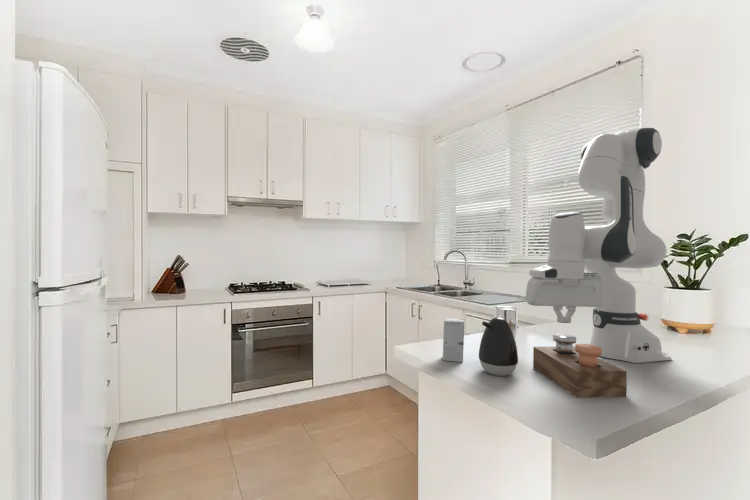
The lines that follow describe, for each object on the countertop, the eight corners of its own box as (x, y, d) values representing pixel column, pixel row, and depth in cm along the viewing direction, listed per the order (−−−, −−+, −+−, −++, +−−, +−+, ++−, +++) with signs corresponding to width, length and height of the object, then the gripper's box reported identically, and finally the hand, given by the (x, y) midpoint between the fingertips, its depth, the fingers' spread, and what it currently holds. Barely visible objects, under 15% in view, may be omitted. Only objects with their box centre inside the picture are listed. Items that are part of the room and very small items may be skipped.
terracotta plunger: (591, 363, 91) (591, 343, 91) (607, 371, 85) (607, 350, 85) (570, 363, 90) (570, 343, 90) (584, 371, 85) (584, 350, 85)
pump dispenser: (470, 368, 101) (471, 315, 101) (500, 364, 105) (500, 312, 104) (494, 381, 91) (495, 322, 91) (526, 376, 95) (527, 319, 95)
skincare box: (442, 361, 107) (443, 320, 107) (442, 356, 112) (443, 317, 112) (464, 362, 107) (464, 321, 106) (462, 357, 111) (463, 318, 111)
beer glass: (518, 359, 110) (519, 310, 110) (495, 357, 112) (495, 309, 111) (514, 352, 117) (515, 306, 117) (492, 350, 118) (493, 305, 118)
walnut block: (573, 367, 103) (574, 346, 103) (626, 396, 83) (626, 371, 83) (533, 367, 102) (533, 346, 102) (576, 397, 83) (577, 371, 82)
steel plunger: (567, 351, 101) (568, 333, 101) (580, 357, 95) (580, 339, 95) (548, 351, 100) (548, 333, 100) (560, 358, 95) (560, 339, 95)
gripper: (594, 271, 101) (593, 320, 101) (523, 270, 100) (522, 319, 100) (610, 273, 95) (608, 325, 95) (535, 271, 94) (533, 324, 94)
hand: (563, 322), depth 97 cm, fingers closed
